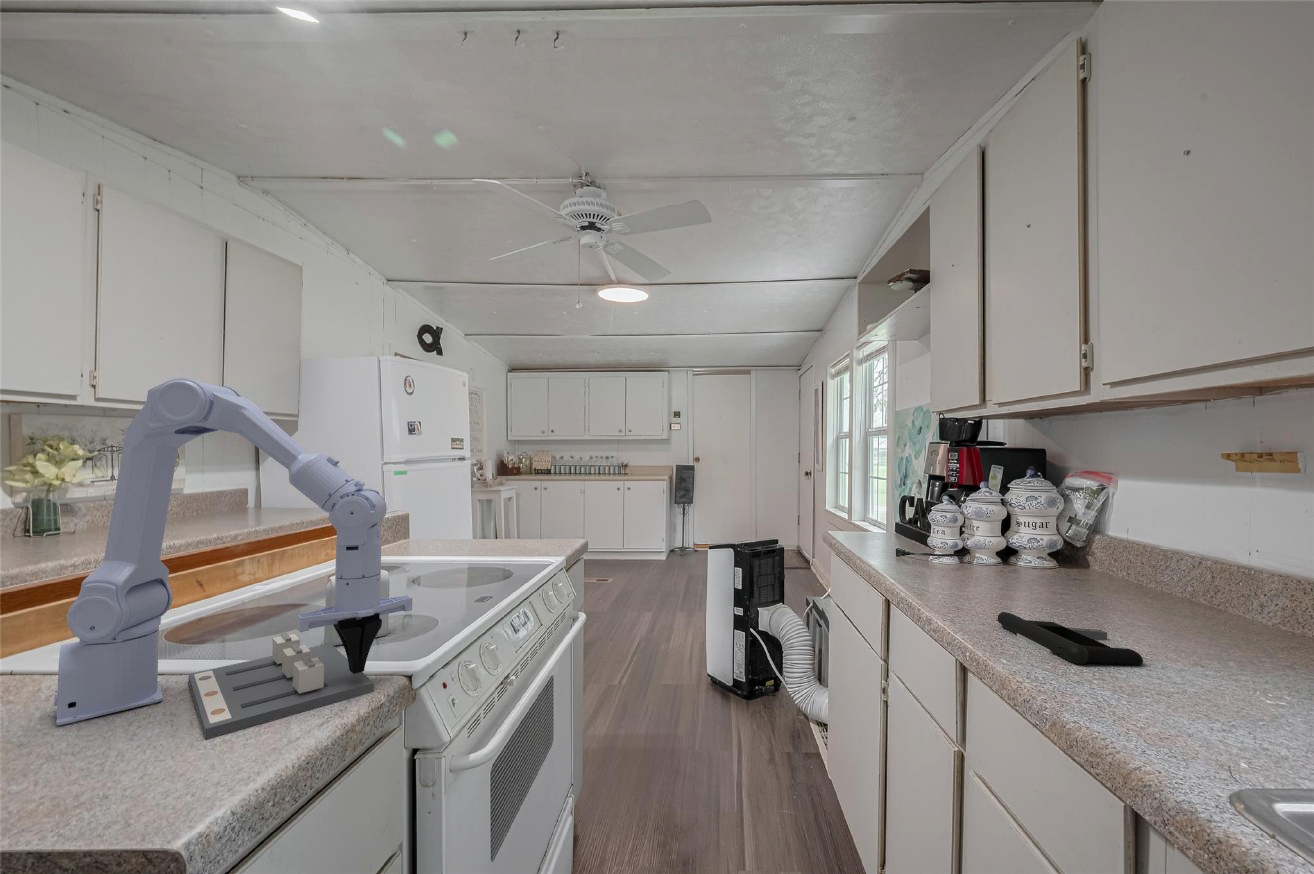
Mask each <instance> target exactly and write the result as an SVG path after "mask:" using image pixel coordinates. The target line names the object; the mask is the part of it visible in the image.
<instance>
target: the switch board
mask: <svg viewBox="0 0 1314 874" xmlns="http://www.w3.org/2000/svg"><path fill="white" fill-rule="evenodd" d="M307 648H308V649H309V650H310V651H311V659H312V658H318V659H319V660H320V661H321V662H322V663H323V664H324V685H323V687H322V688H319V689H315V690H311V691H307V692H303V693H300V694H299V693H298V692H297V690H296V689H295V688H294V686H293V677H289V678H287V677H286V675H285V674H284V673H283V671H282V663H280V664H277V663H276V662H275V661H274V659H273V658H272V655H271V656H265V657H261V658H256V659H252V660H247V661H243V662H238V663H234V664H229V665H224V666H219V667H214V668H211V669H204V670H201V671H200V670H199V671H197V672H191V673H188V685H189V684H190V686H189V688H190V687H191V689H190V692H191V691H192V693H191V695H192V694H193V696H192V699H193V698H194V699H193V701H194V702H195V703H194V702H193V703H194V705H195V709H196V712H197V716H198V719H199V720H198V721H199V723H200V726H201V730H202V734H203V737H204V740H208V739H212V738H216V737H219V736H223V735H225V734H229V733H234V732H236V731H240V730H243V729H246V728H251V727H254V726H257V725H261V724H265V723H269V722H273V721H276V720H279V719H281V718H286V717H289V716H293V715H296V714H299V713H303V712H306V711H311V710H314V709H318V708H321V707H324V706H328V705H330V704H331V705H333V704H335V703H339V702H342V701H345V700H350V699H352V698H353V699H354V698H356V697H359V696H364V695H366V694H370V693H373V692H374V689H375V686H374V685H375V684H374V683H375V682H373V680H371V679H370V678H369V677H368V676H367V674H365V673H364V672H360V673H356V674H353V673H352V672H351V671H350V670H349V663H348V659H347V656H346V655H344V654H343V653H341V652H340V651H339V650H338V649H337V647H335V646H333V645H332V644H325V645H324V644H321V645H316V646H312V647H307Z"/></svg>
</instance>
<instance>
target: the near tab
mask: <svg viewBox="0 0 1314 874" xmlns="http://www.w3.org/2000/svg"><path fill="white" fill-rule="evenodd" d="M323 685H324V664H323V663H322V662H321V661H320V660H319V659H318V658H312V659H310V658H309V657H304V658H302V661H299V662H295V663H293V686H294V688H295V689H296V690H297V692H298V693H299V694H300V693H303V692H307V691H311V690H315V689H319V688H322V687H323Z"/></svg>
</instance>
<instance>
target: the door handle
mask: <svg viewBox="0 0 1314 874" xmlns="http://www.w3.org/2000/svg"><path fill="white" fill-rule="evenodd" d="M996 621H997V622H998V623H999V625H1001V626H1002V627H1003V628H1004V629H1006V630H1008V631H1011V632H1012V633H1015V634H1016V637H1017V638H1018V639H1021V640H1023V641H1025V642H1027V643H1028V644H1031V645H1032V646H1034V647H1036V648H1038V649H1040V650H1042V651H1043V652H1045V653H1048V654H1049V655H1050V654H1052V655H1053V654H1055V655H1057V656H1059V657H1061V658H1062V659H1065V660H1066V661H1068V662H1071V663H1073V664H1075V665H1079V666H1080V665H1085V664H1096V665H1097V664H1099V665H1101V664H1102V665H1116V666H1132V667H1134V666H1136V667H1138V666H1141V665H1143V663H1144V659H1143V657H1142V655H1141V654H1140V653H1139V652H1137V651H1136V650H1133V649H1130V648H1127V647H1125V648H1123V647H1111V646H1109V645H1107V644H1104V643H1103V642H1100V641H1107V640H1108V632H1107V631H1104V630H1102V629H1095V628H1094V629H1093V628H1083V627H1082V628H1081V627H1078V628H1077V627H1066V626H1063V625H1062V624H1059V623H1056V622H1054V621H1042V620H1041V621H1040V620H1029V619H1028V620H1027V619H1024V618H1022V617H1020V616H1018V615H1015V614H1014V613H1012V612H1006V611H1001V612H1000V613H999V614H998V615H997V619H996Z"/></svg>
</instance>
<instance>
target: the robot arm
mask: <svg viewBox="0 0 1314 874" xmlns="http://www.w3.org/2000/svg"><path fill="white" fill-rule="evenodd" d="M145 401H146V402H145V404H144V405H143V406H142V408H141V409H140V410H139V412H138V413H137V414H136V415H135V417H134V418H133V419H132V420H131V421H130V423H128V426H127V428H126V429H125V433H124V440H123V446H122V450H121V457H120V464H119V469H118V473H117V480H116V481H117V482H116V487H115V493H114V496H113V497H114V498H113V504H112V510H111V517H110V522H109V526H108V527H109V528H108V532H107V533H108V534H107V541H106V545H105V551H104V556H103V557H104V558H103V562H102V563H101V564H99V566H97V568H96V569H94V570H93V571H92V572H90V574H89V575H88V576H87V577H86V578H85V579H83V581H82V582H81V586H80V591H79V594H78V596H77V597H76V599H75V600H74V602H72V604H71V605H70V607H69V609H68V610H67V613H66V623H67V627H68V630H69V631H70V632H71V634H72V635H73V636H74V637H76V638H77V639H79V640H78V641H75V642H71V643H65V644H62V645H60V650H59V655H58V658H59V659H58V669H57V671H58V672H57V673H58V674H57V690H55V692H54V697H53V698H54V701H53V704H54V707H56V721H55V725H56V726H63V725H66V724H67V725H68V724H70V723H75V722H80V721H84V720H88V719H91V718H95V717H101V716H105V715H109V714H112V713H113V714H114V713H117V712H121V711H126V710H130V709H134V708H139V707H142V706H148V705H151V704H156V703H159V702H162V701H163V693H162V687H161V686H162V685H161V681H160V680H158V677H159V675H158V673H159V672H158V670H159V642H160V641H159V640H160V625H161V624H162V622H161V621H162V616H164V615H165V614H166V613H167V612H168V611H169V609H170V608H171V605H172V603H173V597H174V596H173V591H172V588H171V586H170V583H169V576H170V575H169V574H170V569H169V568H168V567H167V566H166V565H165V564H164V562H162V561H161V554H162V547H163V544H164V543H163V541H164V535H165V529H166V523H167V518H168V512H169V505H170V499H171V493H172V488H173V480H174V475H175V468H176V463H177V457H178V451H179V448H180V447H181V446H183V445H185V444H187V443H189V442H190V441H192V440H194V439H196V438H199V437H200V436H201V435H205V434H209V433H212V432H213V433H214V432H219V431H223V432H229V433H234V434H238V435H240V436H241V437H243V438H244V439H246V440H247V441H248V442H250V443H252V445H254V447H255V446H256V447H257V448H258V449H259V450H260V451H262V452H263V453H264V454H266V455H267V456H269V457H270V458H272V459H273V460H275V461H276V462H277V463H279V465H282V466H283V467H284V468H285V469H287V471H288V480H289V484H290V486H291V485H292V487H294V489H296V490H298V491H299V492H300V493H301V494H303V495H304V496H305V497H306V498H308V499H309V500H310V501H311V502H313V503H314V504H315V505H317V506H318V507H319V508H320V509H321V510H322V511H323V512H325V513H328V519H329V522H330V524H331V526H332V527H333V528H334V530H335V531H336V544H335V574H334V575H335V606H332V607H328V608H325V607H324V608H322V609H318V610H314V611H310V612H305V613H300V614H297V615H296V630H297V631H298V632H299V633H304V632H308V631H309V630H311V629H316V628H317V629H318V628H321V627H325V626H328V625H333V626H334V628H335V630H336V631H337V633H338V635H339V637H340V639H341V641H342V644H341V645H342V646H343V648H344V651H345V656H346V658H347V659H348V663H349V670H350V671H351V672H352V673H353V674H356V673H360V672H362V673H364V672H365V668H366V663H367V659H368V655H369V653H370V651H371V648H372V645H373V643H374V641H375V639H376V638H377V637H376V635H377V633H378V631H379V630H380V628H381V626H382V619H380V615H384V614H394V613H399V612H411V611H413V597H412V596H409V595H408V594H407V595H403V596H402V595H401V596H393V597H389V598H381V599H380V587H381V570H382V540H381V539H382V537H381V536H382V533H381V532H382V525H381V522H382V521H383V520H384V519H385V516H386V514H387V510H388V509H387V502H386V500H385V499H384V497H383V496H382V495H381V494H380V492H379V491H378V490H376V489H372V488H364V487H365V486H366V483H365V482H364V481H362V479H357V480H356V479H355V478H354V477H353V476H352V475H350V474H349V473H348V472H347V471H345V469H343V468H342V467H340V466H339V463H340V460H339V459H338V458H337V457H336V456H334V455H329V456H327V455H326V454H324V453H321V452H320V453H309V452H308V451H306V449H304V448H303V446H301V445H300V444H299V443H298V442H297V441H296V440H295V439H293V438H292V437H291V436H290V435H289V434H288V433H287V432H285V431H284V429H282V428H281V427H280V426H279V425H278V424H277V423H275V422H274V421H273V420H272V419H271V418H270V417H269V416H268V415H267V414H265V413H264V411H262V410H261V409H260V407H258V406H257V405H256V404H255V403H254V401H252V400H250V399H248V398H247V397H243V396H242V394H241V393H240V392H238V391H237V389H234V388H232V387H230V386H227V385H215V384H211V383H206V382H201V381H197V380H195V379H191V378H187V377H186V378H185V377H177V378H172V379H168V380H167V381H164V382H163V383H161V384H158V385H156V386H154V387H152V388H150V389H148V390H147V395H146V400H145Z"/></svg>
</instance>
